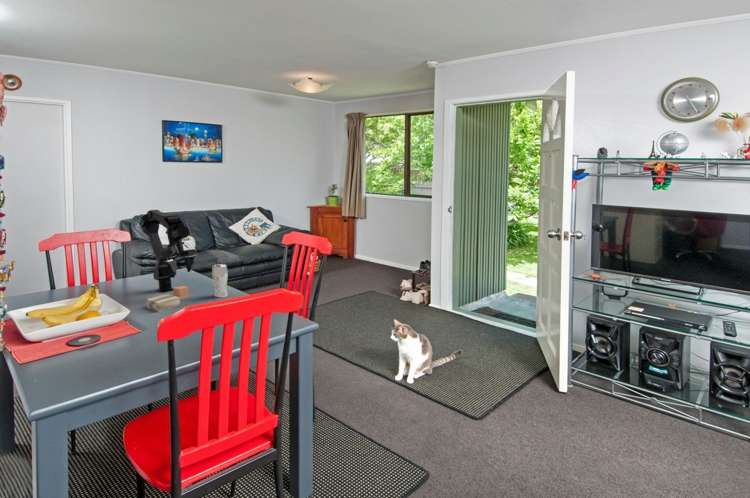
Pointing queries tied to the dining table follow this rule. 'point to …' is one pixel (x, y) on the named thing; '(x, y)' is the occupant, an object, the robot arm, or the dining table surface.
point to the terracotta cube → (181, 292)
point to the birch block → (163, 302)
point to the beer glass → (220, 279)
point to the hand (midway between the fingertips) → (182, 273)
